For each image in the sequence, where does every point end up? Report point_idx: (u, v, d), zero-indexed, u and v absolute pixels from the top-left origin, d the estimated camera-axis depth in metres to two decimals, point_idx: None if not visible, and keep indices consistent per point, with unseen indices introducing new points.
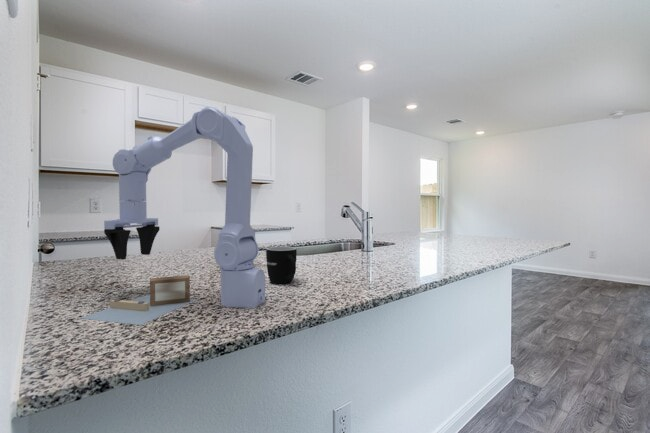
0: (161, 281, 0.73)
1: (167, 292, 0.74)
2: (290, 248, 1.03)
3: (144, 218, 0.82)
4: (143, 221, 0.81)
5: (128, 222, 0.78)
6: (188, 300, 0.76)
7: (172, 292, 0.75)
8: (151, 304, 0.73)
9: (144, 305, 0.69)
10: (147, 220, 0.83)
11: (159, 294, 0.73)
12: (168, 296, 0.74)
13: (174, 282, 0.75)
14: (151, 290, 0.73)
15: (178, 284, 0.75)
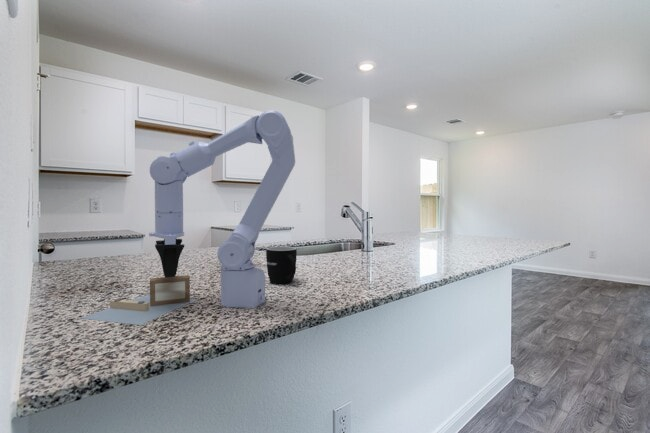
0: (161, 281, 0.73)
1: (167, 292, 0.74)
2: (290, 248, 1.03)
3: None
4: None
5: (179, 236, 0.73)
6: (188, 300, 0.76)
7: (172, 292, 0.75)
8: (151, 304, 0.73)
9: (144, 305, 0.69)
10: None
11: (159, 294, 0.73)
12: (168, 296, 0.74)
13: (174, 282, 0.75)
14: (151, 290, 0.73)
15: (178, 284, 0.75)
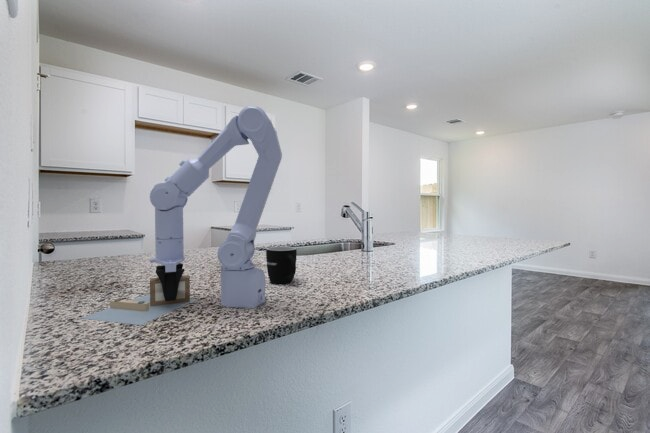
0: None
1: None
2: (290, 248, 1.03)
3: None
4: (184, 258, 0.77)
5: (180, 261, 0.73)
6: (188, 300, 0.76)
7: None
8: (151, 304, 0.73)
9: (144, 305, 0.69)
10: None
11: (159, 294, 0.73)
12: None
13: None
14: (151, 290, 0.73)
15: None
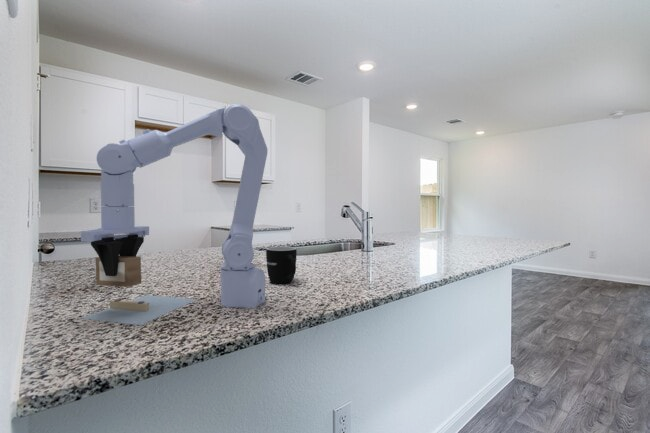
0: None
1: None
2: (290, 248, 1.03)
3: (131, 227, 0.68)
4: (130, 231, 0.67)
5: (111, 232, 0.64)
6: (128, 285, 0.66)
7: None
8: (97, 283, 0.68)
9: (144, 305, 0.69)
10: (135, 229, 0.69)
11: (103, 273, 0.67)
12: (111, 277, 0.67)
13: None
14: (97, 268, 0.68)
15: (118, 265, 0.66)
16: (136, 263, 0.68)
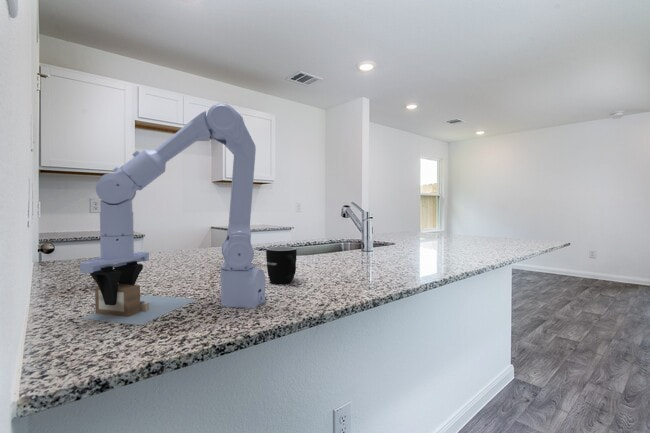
0: None
1: None
2: (290, 248, 1.03)
3: (131, 255, 0.68)
4: (129, 259, 0.67)
5: (110, 262, 0.64)
6: (127, 314, 0.66)
7: None
8: (96, 311, 0.68)
9: (144, 305, 0.69)
10: (134, 257, 0.69)
11: (102, 302, 0.67)
12: (110, 306, 0.67)
13: None
14: (96, 297, 0.68)
15: (117, 294, 0.66)
16: (135, 292, 0.68)
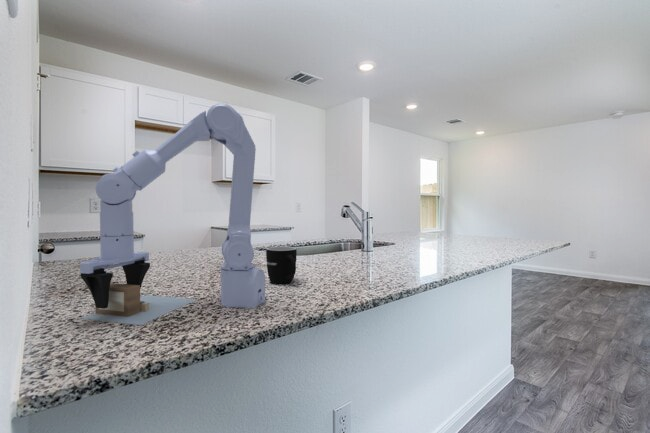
0: None
1: None
2: (290, 248, 1.03)
3: (131, 256, 0.68)
4: (129, 260, 0.67)
5: (110, 263, 0.64)
6: (127, 314, 0.66)
7: (113, 302, 0.67)
8: (96, 311, 0.68)
9: (144, 305, 0.69)
10: (134, 257, 0.69)
11: None
12: (110, 306, 0.67)
13: (114, 291, 0.66)
14: None
15: (117, 294, 0.66)
16: (135, 292, 0.68)
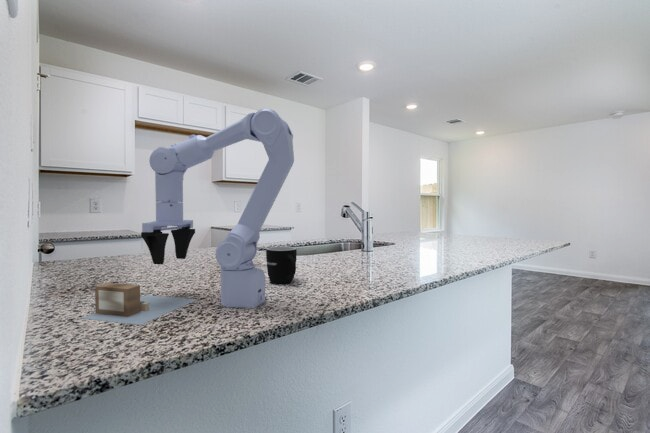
0: (104, 288, 0.67)
1: (108, 301, 0.67)
2: (290, 248, 1.03)
3: (181, 220, 0.77)
4: (180, 223, 0.77)
5: (166, 224, 0.74)
6: (127, 314, 0.66)
7: (113, 302, 0.67)
8: (96, 311, 0.68)
9: (144, 305, 0.69)
10: (184, 222, 0.78)
11: (102, 302, 0.67)
12: (110, 306, 0.67)
13: (114, 291, 0.66)
14: (96, 297, 0.68)
15: (117, 294, 0.66)
16: (135, 292, 0.68)
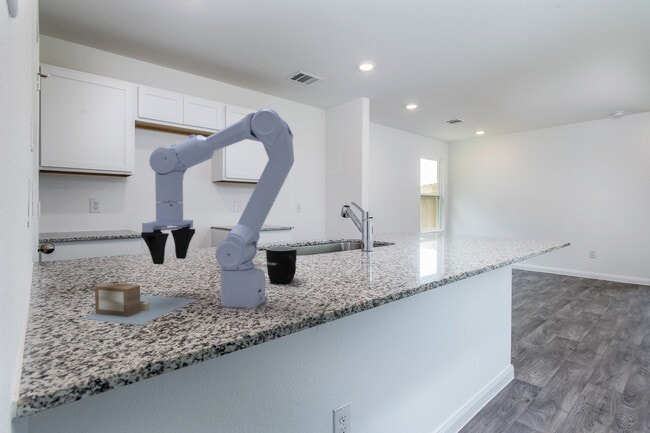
0: (104, 288, 0.67)
1: (108, 301, 0.67)
2: (290, 248, 1.03)
3: (181, 220, 0.77)
4: (180, 223, 0.77)
5: (166, 224, 0.74)
6: (127, 314, 0.66)
7: (113, 302, 0.67)
8: (96, 311, 0.68)
9: (144, 305, 0.69)
10: (184, 222, 0.78)
11: (102, 302, 0.67)
12: (110, 306, 0.67)
13: (114, 291, 0.66)
14: (96, 297, 0.68)
15: (117, 294, 0.66)
16: (135, 292, 0.68)
